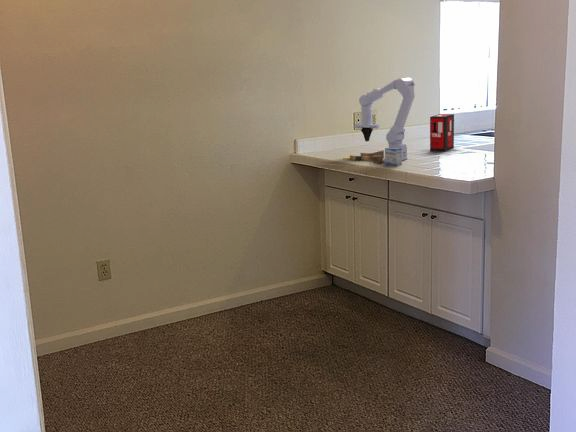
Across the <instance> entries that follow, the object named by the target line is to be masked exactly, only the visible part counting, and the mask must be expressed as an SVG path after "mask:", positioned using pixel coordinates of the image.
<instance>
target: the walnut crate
mask: <svg viewBox="0 0 576 432" xmlns="http://www.w3.org/2000/svg"><path fill="white" fill-rule="evenodd" d="M383 159H384V158H382V156H377V155H375V156H373V161H372V163H376V165H382V164H383V162H384V161H383Z"/></svg>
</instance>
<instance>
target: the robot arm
mask: <svg viewBox="0 0 576 432" xmlns="http://www.w3.org/2000/svg"><path fill="white" fill-rule="evenodd" d="M415 86H416V84H415V82H414V80H413V79H412V78H411V77H405V78H403V77H402V78H399V77H398V78H397V79H395V80H393V81H391V82H390V83H389V82H388V84H386V85H384V86H383V87H381V88H379V87H377V88H373V89H372V90H371V91H369V92H366V94H361V96H360V97H359V100H358V103H359V104H360V105H361V106H360V110H361V123H360V124H357V123H356V124H354V128H355V129H360V131H361V133H362V134H363V137H364V141H365V142H370V138H371V135H372V133H373V130H374V129H379V128H380V124H375V123H374V124H373V111H372V109H373V104H374V103H375V102H377V101H378V100H380V99H382V98H383V97H384V95H385V94H386V93H388V92H389V93H390V92H391V91H393V90H397V92H399V94H400V95H401V96H402V100H401V104H400V106H399V110H398V111H397V114H396V115H397V116H396V118H395V120H394V123H393V125H392V127H390V128H389V131H388V132H387V134H386V135H385V139H386V141H387V142H388V148H401V149H402V161H404V160H407V159H408V147H407V146H408V145H407V144H405V143H403V141H404V139H405V132H406V130H405V125H406V122H407V119H408V116H409V113H410V110H411V108H412V105H413V102H414V99H415Z"/></svg>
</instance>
